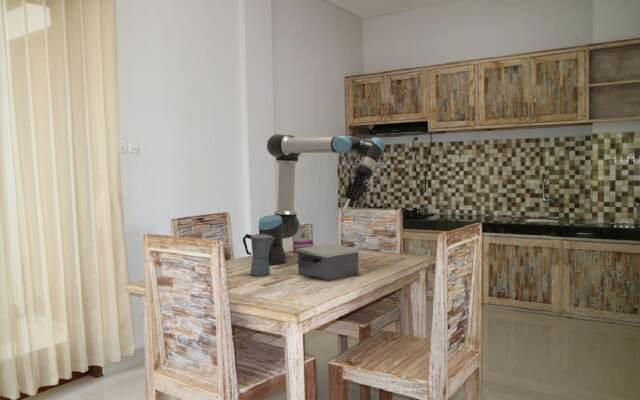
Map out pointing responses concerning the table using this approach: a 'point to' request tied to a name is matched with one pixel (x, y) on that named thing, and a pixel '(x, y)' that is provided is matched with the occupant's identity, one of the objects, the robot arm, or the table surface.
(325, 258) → the dark grey storage box
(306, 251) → the grey box lid
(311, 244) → the candy bar box
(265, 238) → the moka pot
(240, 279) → the table surface
